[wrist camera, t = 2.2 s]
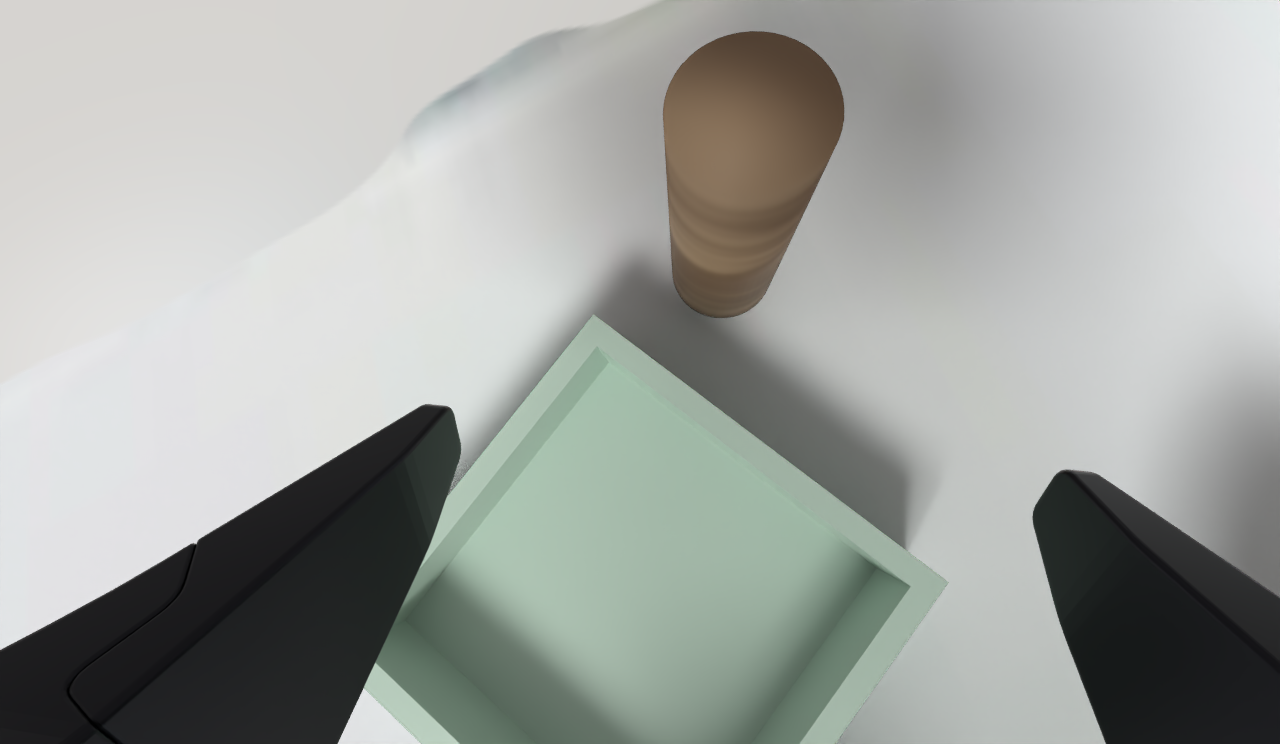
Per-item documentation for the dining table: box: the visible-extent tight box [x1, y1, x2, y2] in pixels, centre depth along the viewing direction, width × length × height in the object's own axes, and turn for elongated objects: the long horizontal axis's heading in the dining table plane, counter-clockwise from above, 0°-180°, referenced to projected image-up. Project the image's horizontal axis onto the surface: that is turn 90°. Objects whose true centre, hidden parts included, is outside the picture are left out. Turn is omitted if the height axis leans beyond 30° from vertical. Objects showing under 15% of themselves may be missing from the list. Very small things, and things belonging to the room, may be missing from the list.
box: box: [364, 314, 949, 744], centre depth 19 cm, size 14×14×4 cm
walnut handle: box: [663, 31, 844, 318], centre depth 18 cm, size 4×4×10 cm
